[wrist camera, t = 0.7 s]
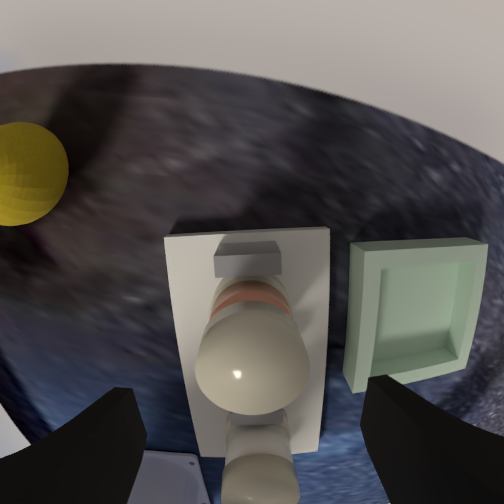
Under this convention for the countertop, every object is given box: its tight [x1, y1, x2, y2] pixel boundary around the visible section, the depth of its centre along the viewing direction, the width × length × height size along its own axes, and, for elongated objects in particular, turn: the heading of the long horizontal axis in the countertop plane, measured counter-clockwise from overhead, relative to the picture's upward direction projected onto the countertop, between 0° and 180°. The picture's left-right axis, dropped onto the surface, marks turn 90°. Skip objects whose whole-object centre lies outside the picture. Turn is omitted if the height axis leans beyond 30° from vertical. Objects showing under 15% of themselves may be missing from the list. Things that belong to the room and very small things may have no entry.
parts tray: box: [343, 237, 488, 393], centre depth 18 cm, size 9×9×2 cm
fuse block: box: [164, 226, 330, 457], centre depth 18 cm, size 17×9×4 cm, turn 3°
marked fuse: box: [195, 275, 310, 415], centre depth 14 cm, size 4×4×7 cm
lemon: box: [0, 122, 69, 226], centre depth 13 cm, size 6×6×8 cm
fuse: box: [221, 409, 300, 504], centre depth 16 cm, size 4×4×7 cm
